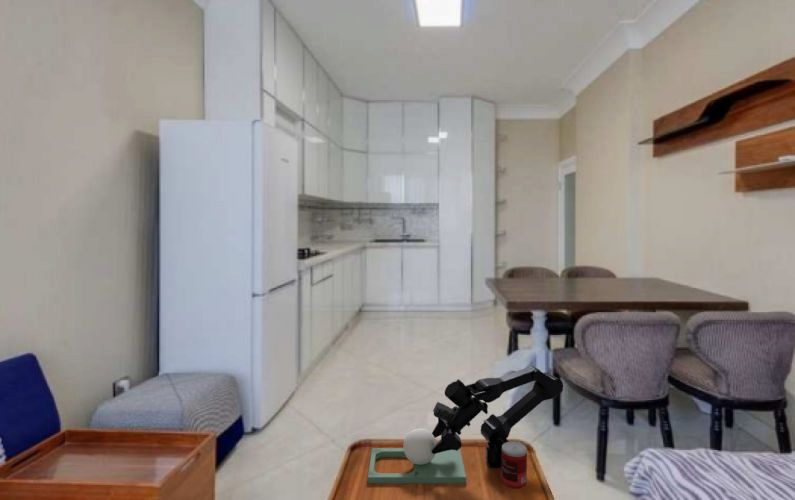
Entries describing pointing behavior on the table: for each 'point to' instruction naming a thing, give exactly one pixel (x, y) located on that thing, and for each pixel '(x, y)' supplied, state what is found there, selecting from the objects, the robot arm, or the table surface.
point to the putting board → (420, 468)
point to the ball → (419, 446)
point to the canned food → (514, 464)
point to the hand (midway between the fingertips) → (431, 445)
